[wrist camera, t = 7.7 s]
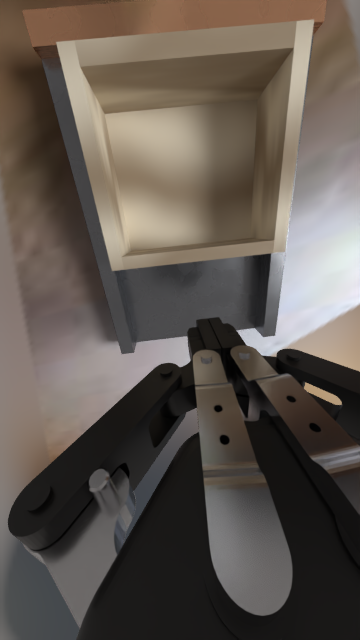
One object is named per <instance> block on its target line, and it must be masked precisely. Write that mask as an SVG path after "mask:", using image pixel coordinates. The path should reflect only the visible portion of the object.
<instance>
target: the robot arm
mask: <svg viewBox="0 0 360 640" xmlns="http://www.w3.org/2000/svg"><path fill="white" fill-rule="evenodd" d="M187 336H188V347H189V354H190V360H191V361H190V362H189V363H188V364H187V365H185V366H183V367H179V366H178V365H176V364H173V363H164V364H161V365H159V366H157V367H156V368H154V369H153V370H152V371H151V372H150V373H149V374H148V375H147V376H146V377H145V378H144V379H142V380H141V381H140V382H139V383H138V384H137V385H136V386H135V387H134V388H133V389H132V390H130V391H129V392H128V393H127V394H126V395H125V396H124V397H123V398H122V399H121V400H120V401H118V402H117V403H116V404H115V405H114V406H113V407H112V408H111V409H110V410H109V411H108V412H106V413H105V414H104V415H103V416H102V417H101V418H100V419H99V420H98V421H97V422H96V423H94V424H93V425H92V426H91V427H90V428H89V429H88V430H87V431H86V432H85V433H84V434H82V435H81V436H80V437H79V438H78V439H77V440H76V441H75V442H74V443H73V444H72V445H70V446H69V447H68V448H67V449H66V450H65V451H64V452H63V453H62V454H61V455H60V456H58V457H57V458H56V459H55V460H54V461H53V462H52V463H51V464H50V465H49V466H48V467H47V468H45V469H44V470H43V471H42V472H41V473H40V474H39V475H38V476H37V477H36V478H34V479H33V480H32V481H31V482H30V483H29V484H28V485H27V486H26V487H25V488H24V489H23V491H22V492H21V493H20V494H19V496H18V497H17V499H16V500H15V502H14V504H13V506H12V508H11V511H10V514H9V518H8V527H9V530H10V532H11V533H12V534H13V535H14V536H15V537H16V538H17V539H19V540H20V541H21V542H22V543H23V545H24V547H25V548H26V549H27V550H28V551H29V552H30V553H31V554H32V555H33V556H35V557H36V558H37V559H38V560H40V561H41V562H42V563H43V564H44V565H46V566H47V568H48V570H49V571H50V574H51V575H52V577H53V579H54V581H55V583H56V585H57V587H58V589H59V591H60V592H61V594H62V596H63V598H64V600H65V602H66V603H67V605H68V607H69V609H70V611H71V613H72V615H73V617H74V619H75V620H76V622H77V624H78V626H79V628H80V630H79V633H78V636H77V639H76V640H360V372H359V371H356V370H353V369H350V368H348V367H344V366H342V365H339V364H336V363H333V362H330V361H327V360H324V359H322V358H319V357H316V356H313V355H310V354H307V353H304V352H301V351H299V350H294V349H282V350H280V351H278V353H277V357H271V356H262V355H261V354H260V353H259V352H258V351H257V350H256V349H254V348H252V347H250V346H247V345H246V344H245V342H244V341H243V340H242V338H241V337H240V335H239V334H238V332H237V331H236V329H235V328H234V326H232V325H230V324H228V323H225V324H223V323H222V321H221V319H220V318H219V317H214V318H208V319H207V318H206V319H197V320H196V327H192V328H189V330H188V331H187ZM305 382H306V383H309V384H311V385H313V386H316V387H318V388H320V389H322V390H325V391H327V392H329V393H331V394H334V395H336V396H337V397H338V398H339V399H340V400H341V401H342V405H334V404H332V403H330V402H328V401H326V400H323V399H321V398H319V397H317V396H315V395H313V394H311V393H309V392H307V391H306V390H305V389H304V386H305ZM195 408H197V415H198V427H199V432H198V433H196V434H194V435H193V436H191V437H190V438H189V439H187V440H186V441H185V442H184V443H183V445H182V446H181V447H180V448H179V450H178V452H177V453H176V455H175V457H174V458H173V460H172V462H171V463H170V465H169V467H168V469H167V471H166V472H165V474H164V476H163V477H162V479H161V481H160V482H159V484H158V486H157V488H156V489H155V491H154V493H153V495H152V496H151V498H150V500H149V501H148V503H147V505H146V507H145V508H144V510H143V512H142V514H141V515H140V517H139V519H138V520H137V522H136V524H135V526H134V527H133V529H132V531H131V533H130V534H129V536H128V538H127V539H126V541H125V543H124V538H125V534H126V532H127V529H128V527H129V525H130V523H131V521H132V519H133V516H134V513H135V507H136V499H135V495H134V492H133V491H134V490H135V488H136V487H137V485H138V484H139V482H140V481H141V480H142V478H143V477H144V475H145V474H146V473H147V471H148V470H149V468H150V467H151V465H152V464H153V462H154V461H155V459H156V458H157V457H158V455H159V454H160V452H161V451H162V449H163V448H164V446H165V445H166V444H167V442H168V440H169V439H170V438H171V436H172V435H173V433H174V432H175V431H176V429H177V428H178V426H179V425H180V423H181V422H182V420H183V419H184V417H185V414H186V412H188V411H190V410H192V409H195ZM123 544H124V545H123Z"/></svg>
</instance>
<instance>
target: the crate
mask: <svg viewBox="0 0 360 640" xmlns="http://www.w3.org/2000/svg"><path fill="white" fill-rule="evenodd" d="M313 25H314V20H302V21H291V22H279V23H268V24H256V25H245V26H233V27H222V28H210V29H199V30H187V31H176V32H164V33H153V34H141V35H130V36H118V37H107V38H95V39H84V40H72V41H61V42H56V44H57V48H58V52H59V56H60V61H61V65H62V69H63V73H64V77H65V81H66V85H67V89H68V93H69V97H70V101H71V106H72V110H73V114H74V118H75V122H76V126H77V130H78V134H79V138H80V142H81V146H82V150H83V155H84V159H85V163H86V167H87V171H88V175H89V179H90V183H91V187H92V191H93V195H94V200H95V204H96V208H97V212H98V216H99V220H100V224H101V228H102V232H103V236H104V240H105V245H106V249H107V253H108V257H109V261H110V265H111V269H112V271H117V270H126V269H135V268H144V267H153V266H161V265H170V264H179V263H188V262H197V261H206V260H215V259H224V258H233V257H242V256H251V255H260V254H269V253H278V252H285V247H286V239H287V231H288V223H289V215H290V207H291V199H292V191H293V183H294V175H295V168H296V160H297V152H298V144H299V136H300V128H301V120H302V112H303V104H304V96H305V88H306V80H307V73H308V65H309V57H310V49H311V41H312V33H313Z"/></svg>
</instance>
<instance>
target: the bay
mask: <svg viewBox="0 0 360 640" xmlns="http://www.w3.org/2000/svg"><path fill="white" fill-rule="evenodd" d="M326 3H327V0H139V1H127V2H115V3H103V4H91V5H79V6H67V7H55V8H43V9H31V10H22V11H23V15H24V18H25V22H26V25H27V29H28V32H29V36H30V40H31V43H32V47H33V48H34V50H35V51H36V52H37V54H38V55H39V56H40V58H41V59H42V63H43V67H44V70H45V74H46V78H47V81H48V85H49V89H50V92H51V96H52V100H53V103H54V107H55V111H56V114H57V118H58V122H59V125H60V129H61V133H62V136H63V140H64V144H65V147H66V151H67V155H68V158H69V162H70V166H71V169H72V173H73V177H74V180H75V184H76V188H77V191H78V195H79V199H80V202H81V206H82V210H83V213H84V217H85V221H86V224H87V228H88V232H89V235H90V239H91V243H92V246H93V250H94V254H95V257H96V261H97V265H98V268H99V272H100V276H101V279H102V283H103V287H104V290H105V294H106V298H107V302H108V305H109V309H110V313H111V316H112V320H113V324H114V327H115V331H116V335H117V338H118V342H119V346H120V349H121V353H122V354H126V353H134V350H135V346H136V343H137V342H141V341H149V340H158V339H166V338H174V337H183V336H187V331H188V330H189V328H192V327H196V320H197V319H206V318H207V319H208V318H214V317H219V318H220V319H221V321H222V323H223V324H225V323H228V324H230V325H232V326H234V328H235V329H236V330H241V329H249V328H255V329H256V330H257V331H258V332H259V333H260V334H261V335H262V336H263V337H267V336H275V331H276V324H277V316H278V308H279V300H280V292H281V285H282V277H283V269H284V261H285V253H286V247H285V252H278V253H269V254H260V255H251V256H242V257H233V258H224V259H215V260H206V261H197V262H188V263H179V264H170V265H161V266H153V267H144V268H135V269H126V270H117V271H112V269H111V265H110V261H109V257H108V253H107V249H106V245H105V240H104V236H103V232H102V228H101V224H100V220H99V216H98V212H97V208H96V204H95V200H94V195H93V191H92V187H91V183H90V179H89V175H88V171H87V167H86V163H85V159H84V155H83V150H82V146H81V142H80V138H79V134H78V130H77V126H76V122H75V118H74V114H73V110H72V106H71V101H70V97H69V93H68V89H67V85H66V81H65V77H64V73H63V69H62V65H61V61H60V56H59V52H58V48H57V44H56V42H61V41H72V40H84V39H95V38H107V37H118V36H130V35H141V34H153V33H164V32H176V31H187V30H199V29H210V28H222V27H233V26H245V25H256V24H268V23H279V22H291V21H302V20H314V25H313V33H312V41H311V49H310V57H309V65H308V73H307V80H306V88H305V96H304V104H303V112H302V120H301V128H300V136H301V129H302V121H303V113H304V105H305V97H306V90H307V82H308V74H309V66H310V58H311V51H312V43H313V35H314V34H315V32H316V31H317V30H318V28H319V27H320V26H321V25H322V23H323V22H324V17H325V10H326ZM300 136H299V144H300ZM299 144H298V152H299ZM298 152H297V160H298ZM297 160H296V168H297ZM296 168H295V175H296ZM295 175H294V183H295ZM294 183H293V191H294ZM293 191H292V199H293ZM292 199H291V207H292ZM291 207H290V214H291ZM289 222H290V215H289ZM288 230H289V223H288ZM287 238H288V231H287ZM286 246H287V239H286Z"/></svg>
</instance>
